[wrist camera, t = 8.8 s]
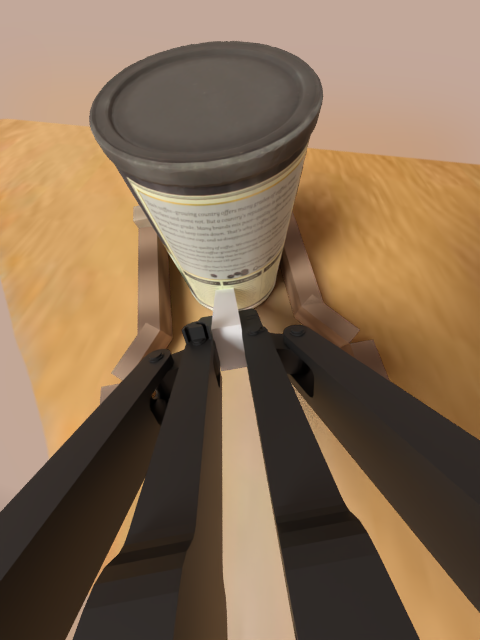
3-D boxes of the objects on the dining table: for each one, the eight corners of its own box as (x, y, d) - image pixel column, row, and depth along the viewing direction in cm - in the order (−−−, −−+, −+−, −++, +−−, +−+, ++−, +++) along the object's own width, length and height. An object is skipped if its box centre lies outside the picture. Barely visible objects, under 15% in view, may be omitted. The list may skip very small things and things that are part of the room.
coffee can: (169, 276, 22) (44, 101, 8) (231, 226, 24) (210, 25, 11) (232, 335, 19) (192, 209, 6) (295, 271, 21) (373, 74, 8)
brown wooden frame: (369, 388, 17) (403, 390, 13) (122, 431, 17) (86, 446, 13) (303, 207, 24) (313, 175, 20) (128, 236, 24) (106, 209, 20)
